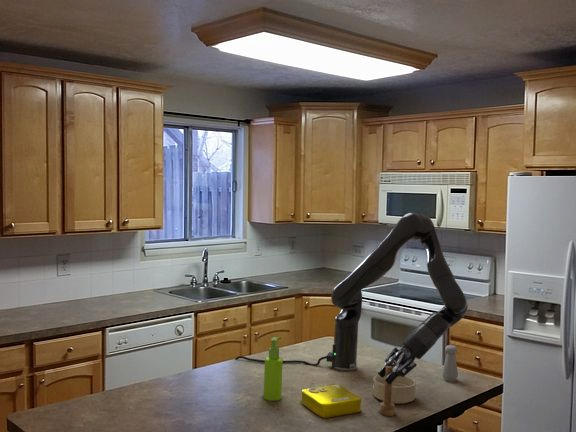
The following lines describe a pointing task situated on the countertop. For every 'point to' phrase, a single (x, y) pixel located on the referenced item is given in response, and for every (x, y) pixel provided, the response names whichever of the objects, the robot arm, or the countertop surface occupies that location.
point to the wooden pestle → (387, 396)
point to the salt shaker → (450, 364)
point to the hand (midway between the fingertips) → (383, 378)
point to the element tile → (331, 401)
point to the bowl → (395, 389)
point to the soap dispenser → (273, 373)
